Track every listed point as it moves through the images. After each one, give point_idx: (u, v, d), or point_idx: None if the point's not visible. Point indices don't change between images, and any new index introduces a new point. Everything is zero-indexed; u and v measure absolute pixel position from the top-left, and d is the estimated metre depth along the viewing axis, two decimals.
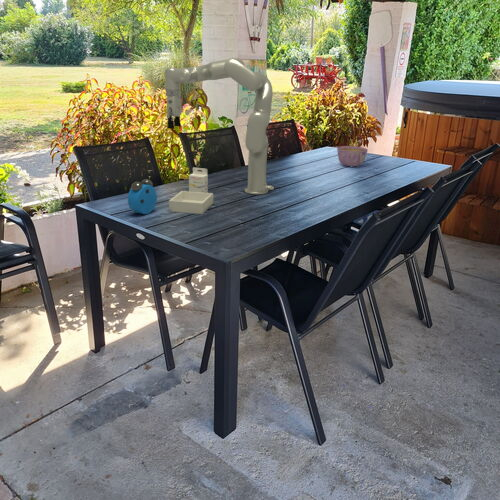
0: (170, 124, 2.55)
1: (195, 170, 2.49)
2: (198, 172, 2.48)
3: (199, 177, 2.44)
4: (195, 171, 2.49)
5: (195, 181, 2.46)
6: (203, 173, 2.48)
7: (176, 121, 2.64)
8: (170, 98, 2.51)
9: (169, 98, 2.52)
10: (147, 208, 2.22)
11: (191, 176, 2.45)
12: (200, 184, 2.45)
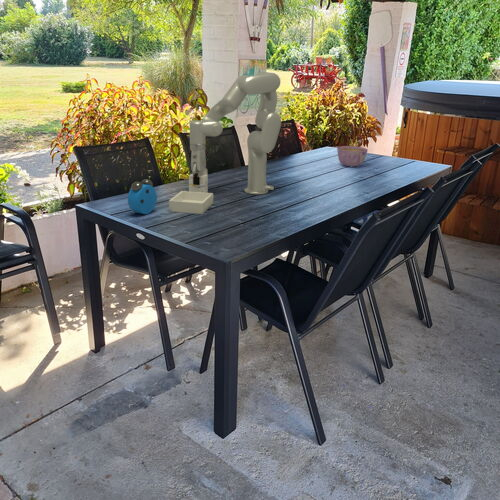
0: (196, 180, 2.44)
1: None
2: None
3: None
4: None
5: None
6: (203, 173, 2.48)
7: None
8: (195, 153, 2.38)
9: (194, 153, 2.38)
10: (147, 208, 2.22)
11: (191, 176, 2.45)
12: (200, 184, 2.45)
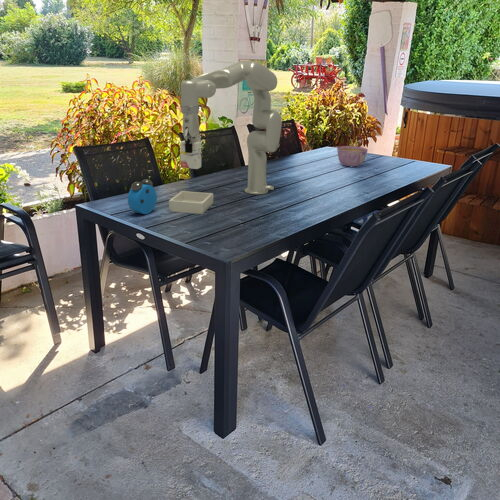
0: (188, 148, 2.21)
1: None
2: None
3: None
4: None
5: None
6: (196, 140, 2.25)
7: None
8: (187, 116, 2.15)
9: (186, 116, 2.15)
10: (147, 208, 2.22)
11: (183, 143, 2.23)
12: (193, 151, 2.22)
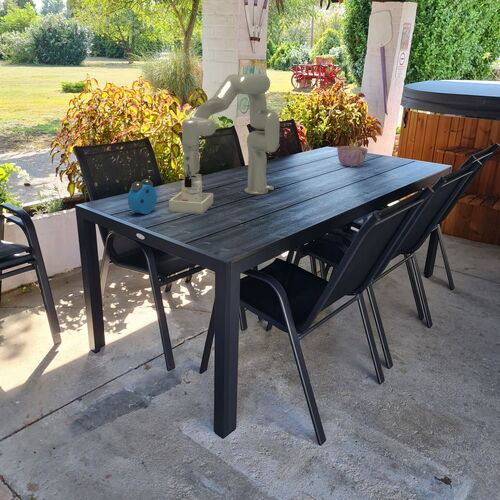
0: (187, 183, 2.25)
1: None
2: (191, 178, 2.32)
3: (193, 183, 2.28)
4: None
5: None
6: (197, 179, 2.32)
7: None
8: (188, 154, 2.21)
9: (186, 154, 2.22)
10: (147, 208, 2.22)
11: (184, 182, 2.29)
12: (194, 190, 2.29)
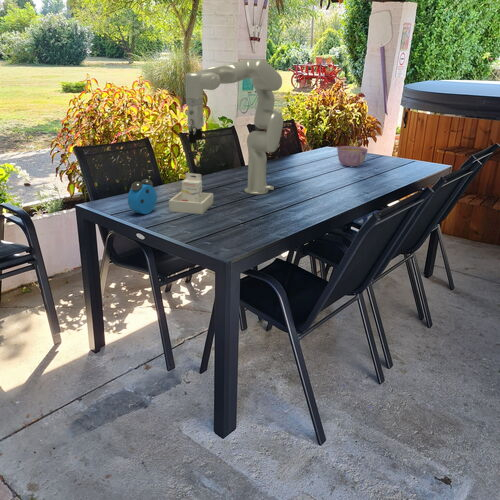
0: (192, 138, 2.21)
1: (188, 176, 2.32)
2: (191, 178, 2.32)
3: (193, 183, 2.28)
4: (188, 177, 2.33)
5: (188, 187, 2.29)
6: (197, 179, 2.32)
7: (197, 134, 2.31)
8: (192, 108, 2.18)
9: (190, 108, 2.18)
10: (147, 208, 2.22)
11: (184, 182, 2.29)
12: (194, 190, 2.29)
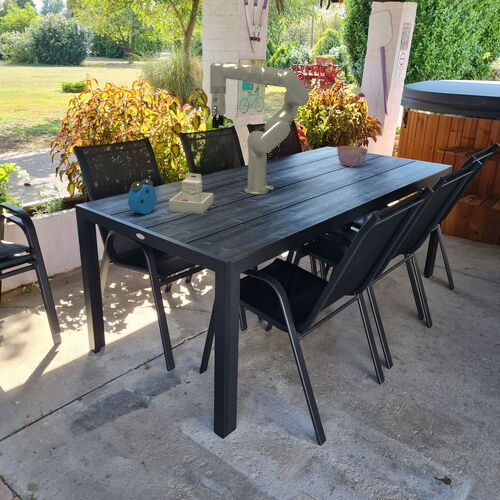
0: (215, 123, 2.38)
1: (188, 176, 2.32)
2: (191, 178, 2.32)
3: (193, 183, 2.28)
4: (188, 177, 2.33)
5: (188, 187, 2.29)
6: (197, 179, 2.32)
7: (219, 120, 2.47)
8: (215, 96, 2.34)
9: (214, 96, 2.35)
10: (147, 208, 2.22)
11: (184, 182, 2.29)
12: (194, 190, 2.29)
